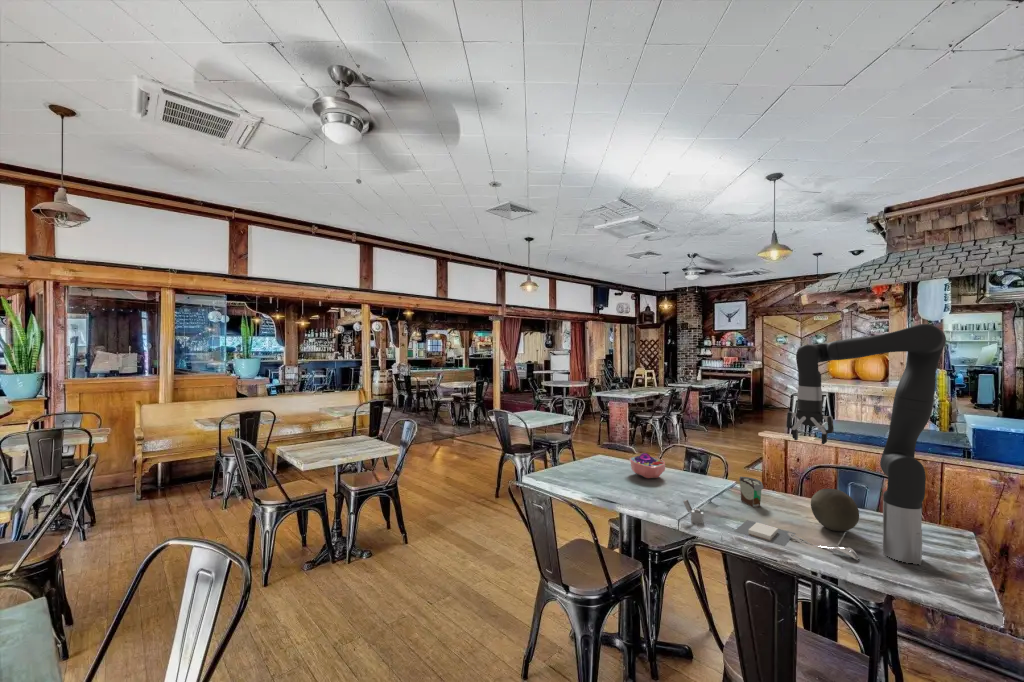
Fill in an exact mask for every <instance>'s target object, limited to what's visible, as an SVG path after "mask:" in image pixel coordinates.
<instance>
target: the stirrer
mask: <svg viewBox="0 0 1024 682" xmlns="http://www.w3.org/2000/svg"><path fill="white" fill-rule="evenodd" d="M792 533H793V532H792ZM792 533H788V536H789V537H791V539H792V540H794V541H796V542H798V543H800V544H804V545H809V546H813V547H815V548H820V549H821V548H822V549H832V550H837V551H839V552H841V553H844V554H846V555H847V556H850V557H851V558H853V559H854V560H856V561H859V560H860V559H859V558H860V557H859V555H858V554H857V552H856V551H855V550H854V549H853V548H851V547H848V546H845V545H844V546H841V545H840V546H838V545H837V546H824V545H823V546H822V545H817V544H813V543H810V542H808V541H806V540H805V539H803V538H801V537H799V536H798V535H796V534H795V535H794V534H792ZM791 535H793V537H792V536H791ZM858 559H859V560H858Z"/></svg>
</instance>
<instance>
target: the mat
mask: <svg viewBox="0 0 1024 682" xmlns="http://www.w3.org/2000/svg"><path fill="white" fill-rule="evenodd" d="M755 523H757V522H756V521H752V520H749V519H747V520H745V521H744V522H742V524H740V525H739V526H738V527H737V528H736V529H735V530H734V532H735V533H740V534H743V535H746V536H749V537H752V538H755V539H758V540H762V541H766V542H770V543H772V544H776V545H779V546H781V547H782V546H783V547H786V545H787V544H789V542H790V541H791V539H792V538H791V537H789V536H788V533H792V534H794V535H796V533H795V532H792V531H789V530H785V529H782V528H778V533H777V534H776V535H775V536H774V537H773V538H772V539H771V540H767V539H763V538H760V537H757V536H753V535H750V534H748V530H749V529H750V528H751V527H752V526H753V525H754V524H755ZM791 536H792V537H794V536H793V535H791Z"/></svg>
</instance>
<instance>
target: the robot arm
mask: <svg viewBox="0 0 1024 682" xmlns="http://www.w3.org/2000/svg"><path fill="white" fill-rule="evenodd" d="M946 340H947V338H946V334H945V333H944V331H943V330H942V329H940V328H939V327H937V326H935V325H932V324H929V323H928V324H927V323H920V324H916V325H914V326H911V327H906V328H903V329H900V330H899V329H898V330H896V331H895V330H894V331H892V332H888V333H887V332H886V333H881V334H876V335H869V336H868V335H867V336H861V337H860V336H859V337H853V338H846V339H839V340H833V341H830V342H824V343H823V342H822V343H814V344H803V345H801V346H800V347H798V349H797V351H796V353H795V355H796V356H795V360H796V367H797V371H798V382H797V383H798V385H797V397H796V398H797V412H793V411H788V412H787V414H786V428H788V429H791V430H792V433H791V434H792V439H794V441H798V440H799V435H798V434H799V430H798V428H799V427H801V426H805V427H807V426H810V427H816V428H817V429H818V430H819V431H820V432H821V445H825V444H826V443H827V442H828V435H829V434H832V433H833V432H834V417H833V415H828V416H827V415H824V414H823V390H822V374H821V372H820V371H819V363H824V362H830V361H842V360H843V361H844V360H851V359H852V360H854V359H858V358H859V359H860V358H865V357H870V356H874V355H880V354H887V353H897V352H900V353H901V352H902V353H903V352H906V353H907V356H906V364H905V368H904V370H903V373H902V375H901V378H900V379H899V382H898V384H897V387H896V389H895V393H894V399H893V402H892V410H891V417H890V423H889V429H888V436H887V439H886V443H885V446H884V448H883V452H882V453H881V457H880V460H879V461H880V463H879V464H880V468H881V471H882V472H883V473H884V474H885V475H886V476H887V488H886V490H885V491H884V492H883V494H882V496H883V497H882V501H883V502H882V553H883V554H885V555H884V556H886V557H887V556H888V557H887V558H889V557H890V558H889V559H891V558H893V559H892V560H894V559H895V560H894V561H896V560H898V561H897V562H899V561H902V562H901V563H903V562H906V563H905V564H908V563H913V564H912V565H917V564H919V565H918V566H922V562H923V561H922V560H923V530H922V526H923V525H922V524H923V523H922V517H923V516H922V515H923V513H922V511H923V510H922V508H923V507H922V506H923V501H924V500H925V495H926V479H927V478H926V470H925V467H924V465H923V464H922V463H921V462H920V461H919V460H918V459H916V458H915V453H916V446H917V442H918V438H919V436H920V435H921V433H922V432H923V431H924V428H926V426H927V424H928V423H929V421H930V418H931V417H932V412H933V406H934V400H935V392H936V382H937V381H936V378H937V377H936V376H937V375H936V374H937V368H938V366H939V365H938V364H939V362H940V358H941V355H942V352H943V350H944V348H945V345H946V342H947V341H946ZM795 417H796V418H797V419H798V421H797V422H796V423H795V424H794V425H793V419H794V418H795ZM823 420H824V421H825V422H826V423H827V429H826V427H825V426H824V424H823V423H822V421H823Z"/></svg>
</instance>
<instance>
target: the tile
mask: <svg viewBox="0 0 1024 682" xmlns="http://www.w3.org/2000/svg"><path fill="white" fill-rule="evenodd" d="M778 529H779V528H778V527H774V526H770V525H767V524H764V523H761V522H756V523H755V524H754V525H753V526H752V527H751V528H750V529H749V530H748V534H750V535H753V536H757V537H760V538H763V539H767V540H771V539H772V538H773V537H774V536H775V535H776V534H777V533H778Z"/></svg>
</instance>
